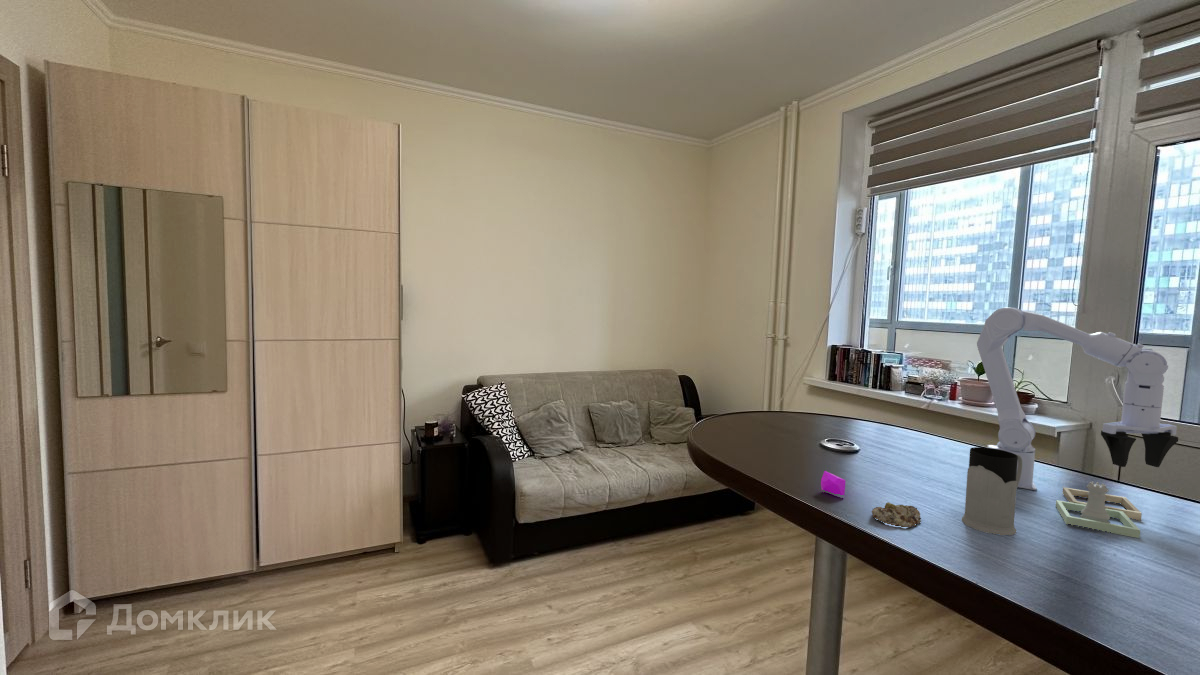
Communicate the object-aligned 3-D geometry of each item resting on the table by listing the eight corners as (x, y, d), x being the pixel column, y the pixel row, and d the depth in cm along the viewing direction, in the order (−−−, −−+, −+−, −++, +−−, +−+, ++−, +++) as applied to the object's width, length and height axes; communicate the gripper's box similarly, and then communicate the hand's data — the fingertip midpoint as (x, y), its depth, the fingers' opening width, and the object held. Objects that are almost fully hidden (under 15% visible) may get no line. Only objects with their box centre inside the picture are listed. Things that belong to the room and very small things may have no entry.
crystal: (819, 495, 114) (820, 475, 114) (823, 488, 119) (824, 469, 119) (843, 500, 112) (844, 480, 111) (847, 493, 116) (848, 474, 116)
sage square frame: (1066, 524, 101) (1066, 516, 100) (1055, 506, 109) (1056, 499, 109) (1139, 538, 95) (1140, 530, 95) (1122, 518, 103) (1122, 511, 103)
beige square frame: (1072, 508, 108) (1073, 501, 108) (1062, 493, 117) (1063, 487, 117) (1141, 520, 103) (1141, 513, 102) (1124, 504, 111) (1125, 497, 111)
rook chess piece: (1116, 527, 99) (1119, 488, 99) (1090, 525, 100) (1093, 486, 100) (1098, 518, 104) (1102, 481, 103) (1073, 516, 105) (1076, 479, 104)
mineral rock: (895, 522, 96) (865, 496, 103) (888, 540, 97) (859, 513, 104) (938, 518, 99) (906, 493, 106) (931, 536, 100) (900, 510, 107)
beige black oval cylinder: (951, 520, 102) (956, 448, 101) (993, 509, 107) (998, 441, 106) (1000, 538, 94) (1005, 461, 93) (1042, 526, 99) (1047, 453, 98)
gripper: (1129, 408, 103) (1123, 471, 104) (1196, 409, 104) (1189, 472, 105) (1095, 401, 110) (1089, 460, 111) (1157, 402, 111) (1151, 461, 112)
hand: (1135, 465), depth 109 cm, fingers open, 7 cm apart
